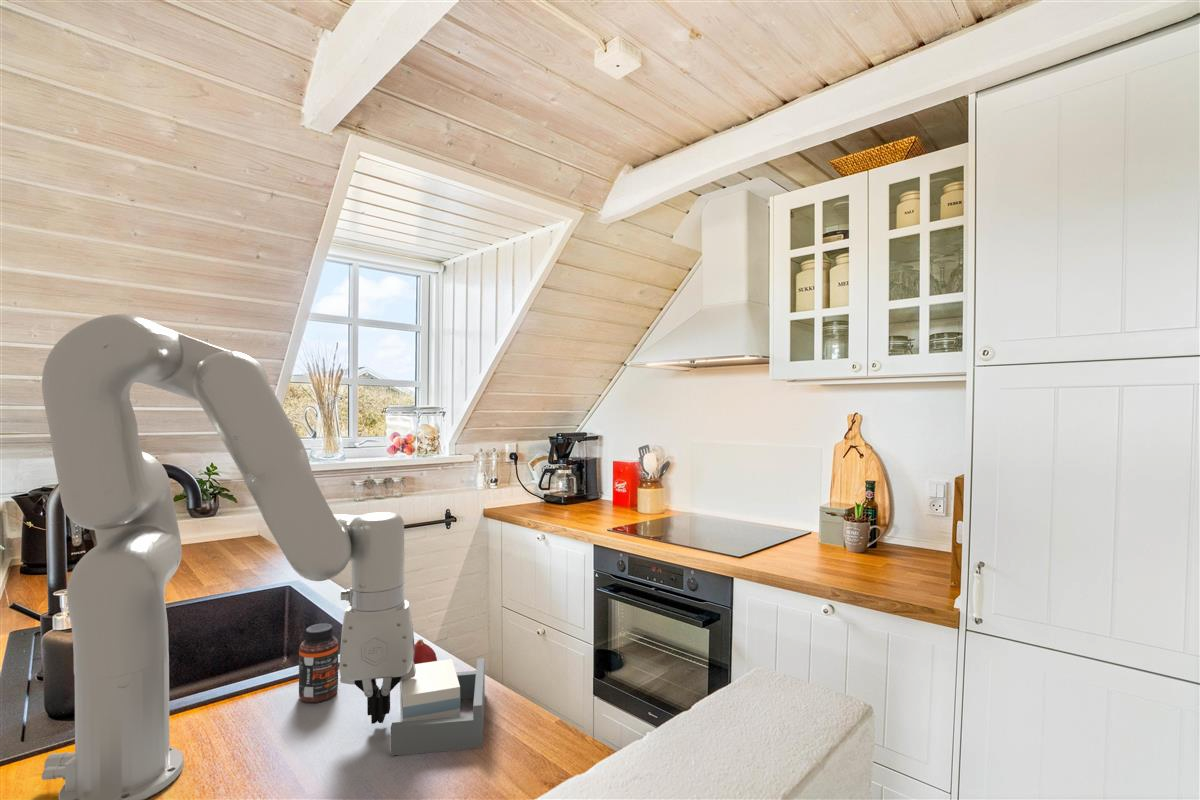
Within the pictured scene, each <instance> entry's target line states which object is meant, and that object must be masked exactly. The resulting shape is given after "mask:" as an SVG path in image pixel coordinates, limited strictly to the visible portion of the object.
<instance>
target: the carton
mask: <svg viewBox="0 0 1200 800" xmlns="http://www.w3.org/2000/svg"><path fill="white" fill-rule="evenodd" d="M415 668H416V674H415V676H414V677H413V678H410V679H407V680H404V681H403V680H402V681H400V682H399V689H400V691H399V692H400V695H399V697H400V706H399V708H400V709H399V710H400V722H406V721H417V720H429V719H440V718H451V717H461V700H460V685H459V681H458V678H457V674H456V672H457V671H456V668H455V664H454V661H453V659H452V658H449V659H440V660H437V661H434V662H427V663H420V664H415Z"/></svg>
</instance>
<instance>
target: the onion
mask: <svg viewBox="0 0 1200 800" xmlns="http://www.w3.org/2000/svg"><path fill="white" fill-rule="evenodd" d="M414 648H415V653H414V664H420V663H427V662H434V661H438V658H437V655H436V652H435V650H434V649H433V648H432V647H431V646H430V645H429V644H427V643H424V641H423V639H421V638H420V639H418V640H417V641H416V643H414Z"/></svg>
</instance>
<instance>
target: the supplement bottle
mask: <svg viewBox="0 0 1200 800" xmlns="http://www.w3.org/2000/svg"><path fill="white" fill-rule="evenodd" d="M298 650H299V651H298V653H299V654H298V697H299V699H300V700H301V701H302V702H305V703H319V702H320V703H321V702H323V701H326V700H328V699H330V698H332V697H334V696H335V695H336V694H337V693H338V690H339V688H338V687H339V640H338V638H337V637H336V636H334V635H333V625H332V624H329V623H317V624H312V625H310V626H308V627H307V628H305V639H304V640H303V641H302V642H301V643H300V645H299V649H298Z"/></svg>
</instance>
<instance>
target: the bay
mask: <svg viewBox="0 0 1200 800" xmlns="http://www.w3.org/2000/svg"><path fill="white" fill-rule="evenodd" d="M485 663H486V662H485V658H484V657H481V658H476V669H475V670H472V671H471V670H468V671H456V674H457V678H458V681H459V685H460V701H461V700H471V699H473V703H472V704H473V705H472V706H473V707H472V708H473V710H472V713H473V715H465V716H463V715H462V716H460V717H451V718H440V719H429V720H417V721H406V722H401V721H397V722H391V725H390V757H395V756H394V755H398V756H405V754H408V755H416V754H418V755H419V754H427V753H438V752H447V751H448V752H449V751H458V750H467V749H468V750H470V749H478V748H483V739H484V737H483V736H484V735H483V734H484V716H485V715H484V714H485V698H486V697H485V695H486V694H485V692H486V690H485V687H486V686H485V681H486V679H485V677H486V676H485V675H486V674H485V671H486V670H485V665H486V664H485Z"/></svg>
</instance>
